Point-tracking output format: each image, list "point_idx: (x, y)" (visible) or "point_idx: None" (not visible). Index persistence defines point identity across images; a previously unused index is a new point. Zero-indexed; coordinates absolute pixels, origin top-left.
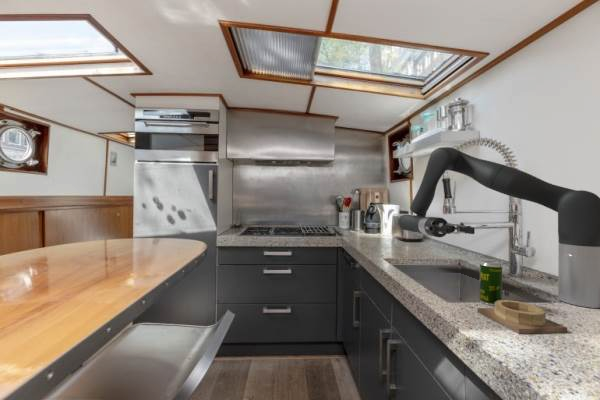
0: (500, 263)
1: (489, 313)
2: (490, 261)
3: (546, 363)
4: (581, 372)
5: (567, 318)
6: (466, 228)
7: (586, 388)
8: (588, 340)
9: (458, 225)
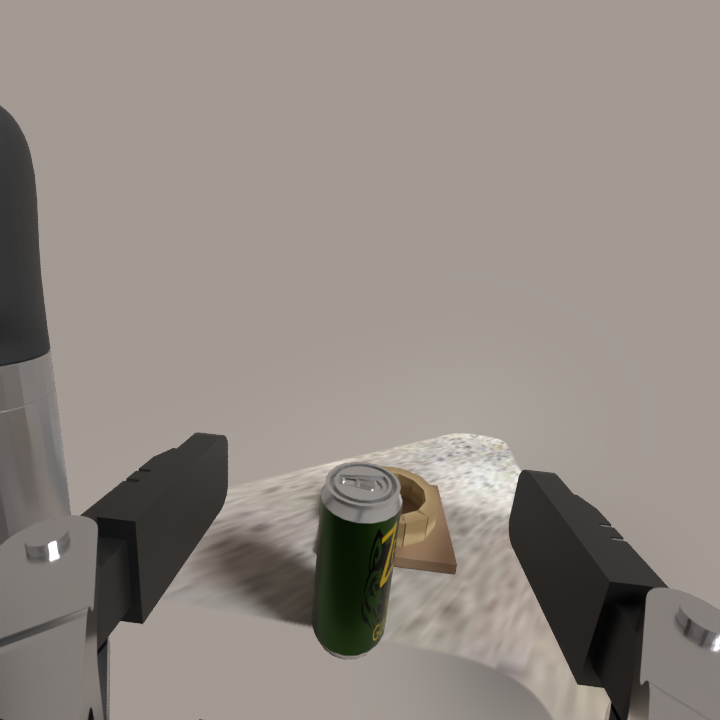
0: (351, 462)
1: (445, 536)
2: (355, 487)
3: (462, 454)
4: (437, 442)
5: (249, 508)
6: (163, 518)
7: (457, 435)
8: (338, 464)
9: (88, 635)
